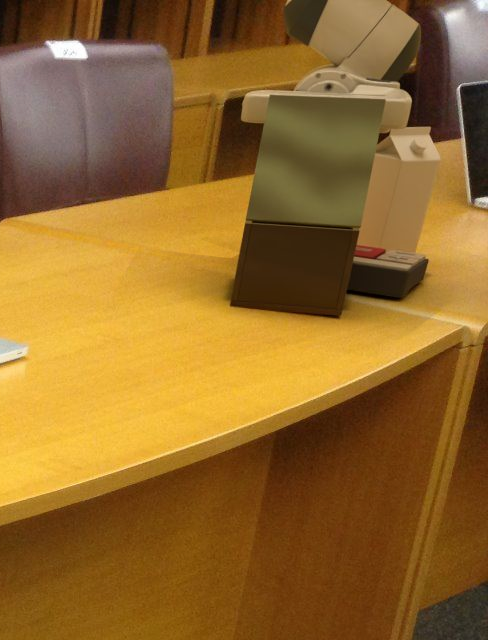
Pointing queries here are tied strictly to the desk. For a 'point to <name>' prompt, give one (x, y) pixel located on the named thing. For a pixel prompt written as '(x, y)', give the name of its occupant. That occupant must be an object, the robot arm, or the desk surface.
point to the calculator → (386, 271)
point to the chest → (294, 267)
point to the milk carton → (399, 190)
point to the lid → (315, 160)
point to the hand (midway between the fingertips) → (324, 115)
